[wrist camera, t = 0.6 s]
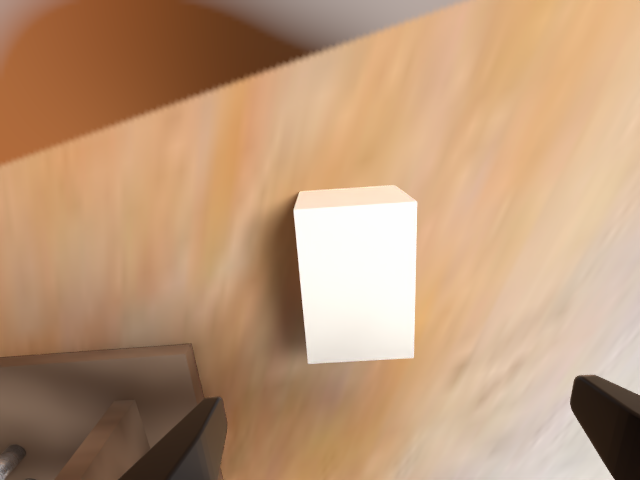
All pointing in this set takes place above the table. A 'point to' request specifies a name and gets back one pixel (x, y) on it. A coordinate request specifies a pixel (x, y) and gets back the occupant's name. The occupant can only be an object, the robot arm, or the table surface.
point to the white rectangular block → (357, 272)
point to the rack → (91, 410)
